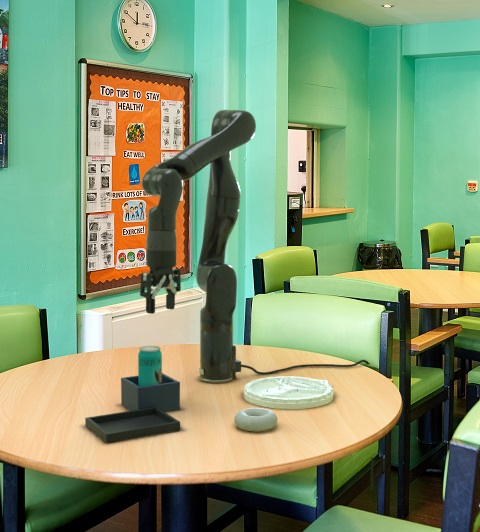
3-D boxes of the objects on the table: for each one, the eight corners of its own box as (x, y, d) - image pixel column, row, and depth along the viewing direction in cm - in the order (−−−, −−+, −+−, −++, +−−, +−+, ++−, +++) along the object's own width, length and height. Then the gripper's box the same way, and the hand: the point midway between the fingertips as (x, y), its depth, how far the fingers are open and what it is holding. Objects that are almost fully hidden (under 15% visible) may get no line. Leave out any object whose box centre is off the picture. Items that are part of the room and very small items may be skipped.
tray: (156, 414, 196) (156, 406, 196) (180, 430, 185) (180, 421, 185) (85, 426, 187) (85, 417, 187) (106, 443, 176) (106, 434, 175)
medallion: (224, 396, 213) (224, 387, 213) (293, 377, 233) (293, 369, 232) (292, 415, 197) (292, 405, 197) (359, 393, 217) (359, 384, 217)
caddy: (161, 398, 210) (161, 372, 209) (180, 409, 201) (180, 382, 200) (121, 405, 204) (120, 377, 203) (138, 416, 195) (138, 388, 194)
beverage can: (157, 411, 199) (157, 351, 197) (135, 409, 200) (134, 349, 198) (165, 404, 205) (164, 346, 203) (143, 403, 206) (143, 345, 204)
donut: (275, 420, 194) (233, 420, 193) (275, 406, 193) (233, 405, 192) (279, 433, 184) (234, 433, 183) (279, 419, 183) (235, 418, 182)
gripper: (157, 250, 198) (156, 316, 200) (189, 247, 211) (188, 309, 213) (132, 248, 202) (131, 313, 203) (165, 245, 214) (164, 306, 216)
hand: (160, 311), depth 208 cm, fingers open, 8 cm apart
